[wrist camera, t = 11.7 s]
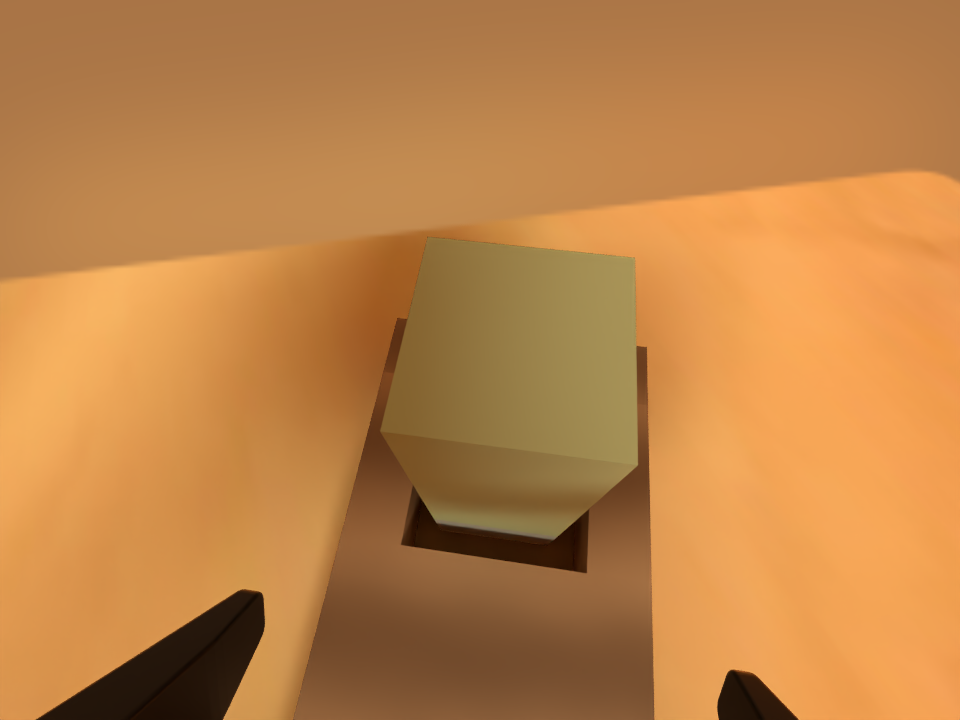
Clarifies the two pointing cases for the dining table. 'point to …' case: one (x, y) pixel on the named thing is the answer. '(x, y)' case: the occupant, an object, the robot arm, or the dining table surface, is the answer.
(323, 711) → the socket board
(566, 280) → the square bit
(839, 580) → the dining table surface
